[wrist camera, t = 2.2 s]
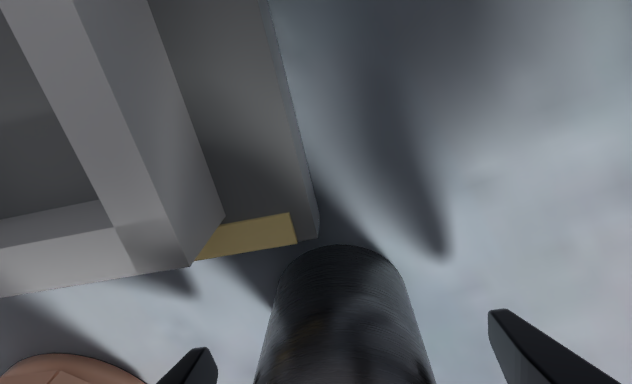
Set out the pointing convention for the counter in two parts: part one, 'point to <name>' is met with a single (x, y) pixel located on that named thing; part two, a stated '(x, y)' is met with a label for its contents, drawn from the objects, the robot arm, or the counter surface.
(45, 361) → the cup
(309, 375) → the cell
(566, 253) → the counter surface
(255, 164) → the cradle
